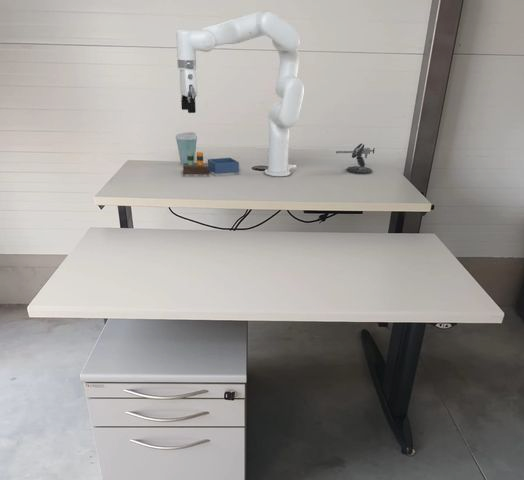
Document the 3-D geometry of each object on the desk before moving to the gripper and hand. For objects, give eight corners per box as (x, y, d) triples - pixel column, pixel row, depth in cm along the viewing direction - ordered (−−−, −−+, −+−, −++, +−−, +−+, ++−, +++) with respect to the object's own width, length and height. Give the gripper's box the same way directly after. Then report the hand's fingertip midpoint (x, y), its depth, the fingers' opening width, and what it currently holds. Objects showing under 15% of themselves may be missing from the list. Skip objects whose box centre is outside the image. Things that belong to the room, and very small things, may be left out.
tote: (230, 169, 248) (230, 157, 246) (238, 174, 241) (238, 162, 238) (207, 170, 244) (207, 159, 241) (215, 175, 236) (215, 163, 233)
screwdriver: (197, 171, 238) (196, 151, 233) (203, 171, 238) (202, 151, 233) (197, 173, 235) (196, 153, 230) (203, 173, 236) (202, 153, 231)
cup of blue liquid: (181, 168, 247) (179, 135, 239) (173, 163, 255) (171, 132, 247) (201, 166, 251) (200, 134, 243) (193, 162, 259) (191, 130, 251)
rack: (183, 172, 239) (183, 162, 237) (207, 172, 241) (207, 163, 238) (183, 176, 233) (183, 166, 231) (208, 176, 235) (207, 166, 232)
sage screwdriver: (188, 171, 237) (187, 151, 232) (194, 171, 238) (193, 151, 233) (187, 173, 235) (187, 153, 230) (194, 173, 235) (193, 153, 230)
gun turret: (331, 168, 257) (333, 141, 250) (367, 167, 261) (370, 141, 254) (339, 174, 247) (342, 146, 240) (376, 173, 251) (381, 146, 244)
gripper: (202, 67, 199) (203, 114, 208) (189, 64, 213) (191, 108, 222) (183, 66, 197) (185, 114, 206) (172, 63, 210) (174, 108, 219)
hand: (188, 111), depth 214 cm, fingers open, 9 cm apart
